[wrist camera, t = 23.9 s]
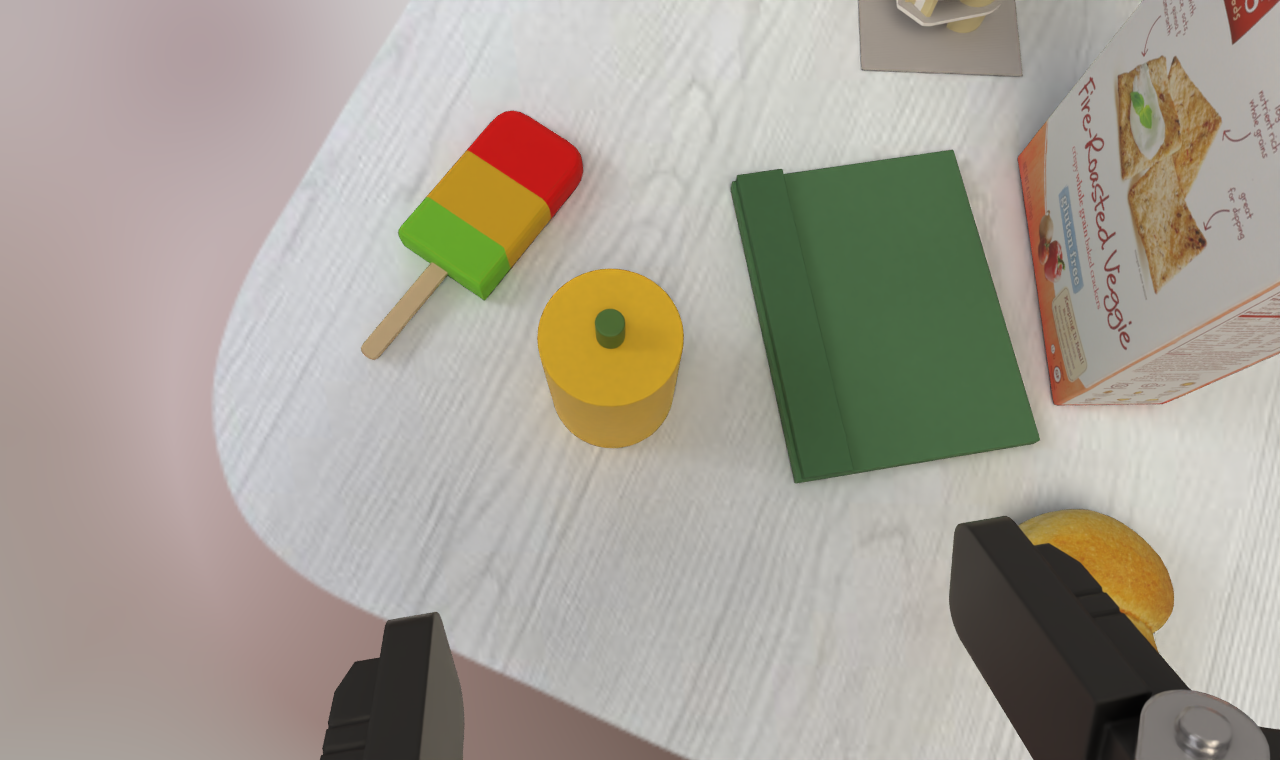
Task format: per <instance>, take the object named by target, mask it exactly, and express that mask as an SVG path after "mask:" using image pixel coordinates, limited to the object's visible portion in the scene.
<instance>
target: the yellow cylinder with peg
mask: <svg viewBox="0 0 1280 760" xmlns="http://www.w3.org/2000/svg"><path fill="white" fill-rule="evenodd" d="M537 340H538V349H539V354H540V358H541V362H542V365H543V368H544V372H545V375H546V379H547V382H548V385H549V389H550V392H551V396H552V399H553V403H554V406H555V409H556V411H557V414H558V416H559V417H560V419H561V421H562V422H563V424H564V425H565V426H566V427H567V428H568V429H569V431H570V432H572V433H573V434H574V435H575V436H576V437H578V438H580V439H581V440H583V441H585V442H587V443H589V444H592V445H595V446H599V447H605V448H620V447H626V446H630V445H633V444H636V443H638V442H640V441H642V440H644V439H646V438H647V437H649V436H650V435H652V434H653V433H654V432H655V431H656V430H657V429H658V428H659V427H660V426H661V424H662V423H663V422H664V420H665V419H666V417H667V415H668V413H669V411H670V408H671V405H672V401H673V396H674V391H675V386H676V380H677V375H678V370H679V365H680V360H681V355H682V349H683V340H684V334H683V325H682V321H681V318H680V315H679V312H678V310H677V308H676V306H675V304H674V303H673V301H672V300H671V298H670V297H669V296H668V294H667V293H666V292H665V291H664V290H663V289H662V288H661V287H660V286H658V285H657V284H656V283H654V282H653V281H651V280H650V279H648V278H646V277H644V276H642V275H640V274H637V273H634V272H631V271H627V270H621V269H600V270H595V271H590V272H587V273H584V274H582V275H579V276H577V277H575V278H573V279H572V280H570V281H569V282H567V283H566V284H564V285H563V286H562V287H561V288H560V289H558V291H557V292H556V293H555V294H554V295H553V296H552V297H551V299H550V300H549V302H548V303H547V305H546V307H545V309H544V311H543V313H542V316H541V318H540V322H539V327H538V336H537Z"/></svg>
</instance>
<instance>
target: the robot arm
mask: <svg viewBox="0 0 1280 760" xmlns="http://www.w3.org/2000/svg"><path fill="white" fill-rule="evenodd" d="M949 605H950V612H951V616H952V620H953V624H954V627H955V629H956V632H957V634H958V636H959V638H960V640H961V641H962V643H963V645H964V646H965V648H966V650H967V651H968V653H969V655H970V656H971V658H972V659H973V661H974V663H975V664H976V666H977V668H978V669H979V671H980V673H981V674H982V676H983V678H984V679H985V681H986V682H987V684H988V686H989V687H990V689H991V691H992V692H993V694H994V696H995V697H996V699H997V700H998V702H999V704H1000V705H1001V707H1002V709H1003V710H1004V712H1005V714H1006V715H1007V717H1008V718H1009V720H1010V722H1011V723H1012V725H1013V727H1014V728H1015V730H1016V732H1017V733H1018V735H1019V737H1020V738H1021V740H1022V741H1023V743H1024V745H1025V746H1026V748H1027V750H1028V751H1029V753H1030V755H1031V756H1032V758H1033V759H1034V760H1280V730H1279V729H1271V728H1264V727H1259V726H1257V725H1256V723H1255V722H1254V721H1253V720H1252V719H1251V718H1250V717H1248V716H1247V715H1246V714H1245V713H1244V712H1242V711H1241V710H1240V709H1238V708H1237V707H1235V706H1233V705H1232V704H1230V703H1228V702H1226V701H1224V700H1222V699H1220V698H1217V697H1215V696H1212V695H1209V694H1206V693H1202V692H1197V691H1191V690H1190V689H1189V688H1188V687H1187V685H1186V684H1185V683H1184V682H1183V681H1182V680H1181V678H1180V677H1179V676H1178V675H1177V674H1176V673H1175V672H1174V670H1173V669H1172V668H1171V667H1170V666H1169V665H1168V663H1167V662H1166V661H1165V660H1164V659H1163V658H1162V656H1161V655H1160V654H1159V653H1158V652H1157V651H1156V649H1155V648H1154V647H1153V646H1152V645H1151V644H1150V642H1149V641H1148V640H1147V639H1146V638H1145V637H1144V636H1143V634H1142V633H1141V632H1140V631H1139V630H1138V629H1137V627H1136V626H1135V625H1134V624H1133V623H1132V622H1131V620H1130V619H1129V618H1128V617H1127V616H1126V615H1125V613H1121V612H1120V608H1119V606H1118V605H1117V604H1116V603H1115V602H1114V601H1113V599H1112V598H1111V597H1110V596H1109V595H1108V594H1107V593H1106V592H1105V593H1104V592H1103V591H1102V587H1101V586H1100V584H1099V583H1098V582H1097V581H1096V580H1095V579H1094V577H1093V576H1092V575H1091V574H1090V573H1089V572H1088V570H1087V569H1086V568H1085V567H1084V566H1083V565H1082V563H1081V562H1079V561H1077V560H1076V559H1074V558H1073V557H1071V556H1069V555H1068V554H1066V553H1064V552H1063V551H1061V550H1060V549H1058V548H1056V547H1055V546H1053V545H1052V544H1050V543H1045V544H1039V545H1033V544H1032V542H1031V541H1030V540H1029V539H1028V537H1027V536H1026V535H1025V534H1024V533H1023V531H1022V530H1021V529H1020V528H1019V526H1018V525H1017V524H1016V523H1015V522H1014V521H1013V520H1012V519H1011V518H1010V517H1007V516H1002V517H996V518H990V519H984V520H978V521H973V522H967V523H961V524H958V525H957V527H956V529H955V532H954V542H953V554H952V567H951V580H950V592H949ZM328 725H329V728H328V729H327V730H326V735H325V739H324V744H323V748H322V749H323V755H321V758H320V760H463V740H464V707H463V698H462V692H461V686H460V682H459V678H458V675H457V672H456V668H455V665H454V661H453V658H452V654H451V650H450V647H449V643H448V640H447V636H446V633H445V630H444V626H443V623H442V619H441V617H440V615H439V613H438V612H432V613H427V614H421V615H415V616H409V617H403V618H397V619H392V620H388V621H387V623H386V625H385V630H384V635H383V642H382V647H381V653H380V658H374V659H369V660H363V661H357V662H355V663H354V664H353V665H352V667H351V668H350V670H349V671H348V673H347V674H346V676H345V677H344V679H343V680H342V682H341V683H340V685H339V686H338V688H337V689H336V691H335V693H334V697H333V702H332V707H331V712H330V716H329V721H328Z"/></svg>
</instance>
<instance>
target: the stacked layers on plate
mask: <svg viewBox="0 0 1280 760" xmlns="http://www.w3.org/2000/svg"><path fill="white" fill-rule="evenodd" d="M859 20H860V45H861V69H862V70H879V71H904V72H930V73H955V74H980V75H1006V76H1023V75H1022V65H1021V55H1020V45H1019V34H1018V24H1017V14H1016V4H1015V0H859Z"/></svg>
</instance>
